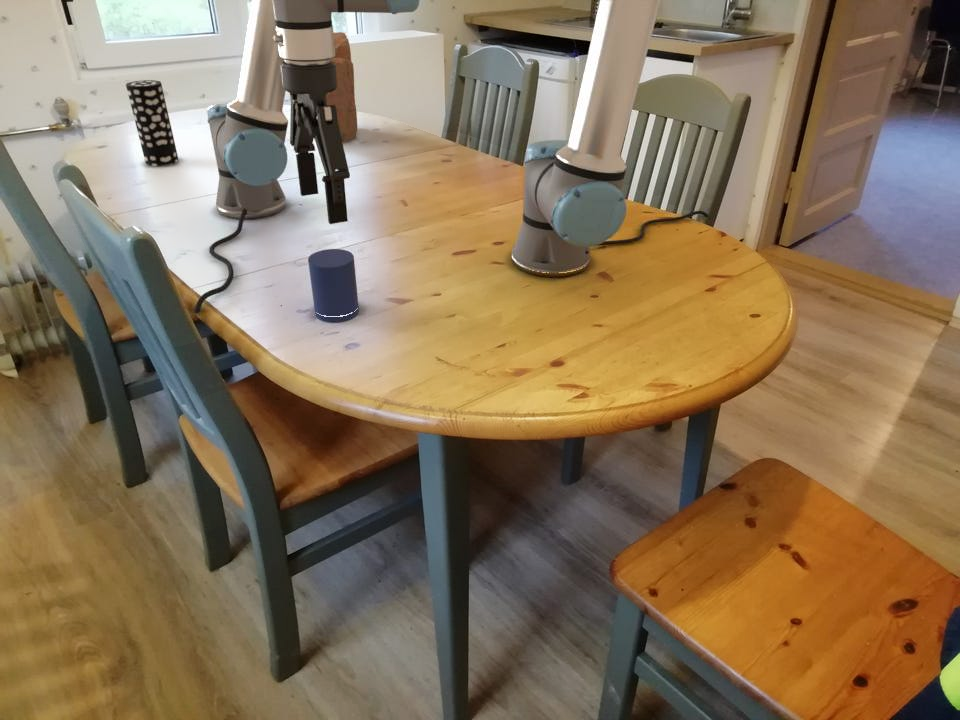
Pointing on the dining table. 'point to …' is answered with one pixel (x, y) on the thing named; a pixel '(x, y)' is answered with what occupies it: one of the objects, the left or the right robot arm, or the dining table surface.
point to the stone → (344, 89)
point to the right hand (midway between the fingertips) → (323, 207)
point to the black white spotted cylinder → (152, 122)
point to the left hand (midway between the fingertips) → (24, 26)
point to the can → (333, 284)
